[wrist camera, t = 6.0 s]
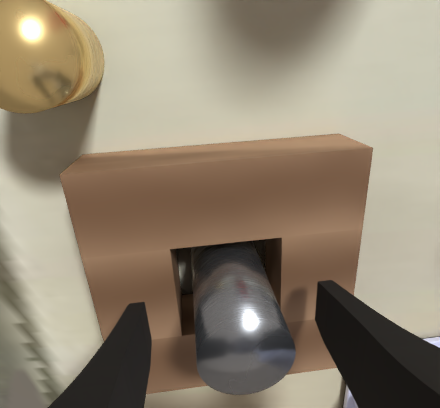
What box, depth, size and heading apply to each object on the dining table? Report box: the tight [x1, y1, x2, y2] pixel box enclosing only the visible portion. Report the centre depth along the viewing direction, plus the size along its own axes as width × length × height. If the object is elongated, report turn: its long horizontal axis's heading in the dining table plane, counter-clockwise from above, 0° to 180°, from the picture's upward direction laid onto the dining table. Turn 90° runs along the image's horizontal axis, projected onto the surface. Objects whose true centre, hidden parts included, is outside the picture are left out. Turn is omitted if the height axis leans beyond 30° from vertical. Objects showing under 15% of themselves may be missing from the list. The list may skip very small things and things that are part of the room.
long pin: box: [191, 241, 296, 395], centre depth 14 cm, size 3×3×7 cm
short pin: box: [0, 0, 104, 113], centre depth 11 cm, size 3×3×4 cm
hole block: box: [60, 134, 373, 394], centre depth 16 cm, size 12×12×3 cm
